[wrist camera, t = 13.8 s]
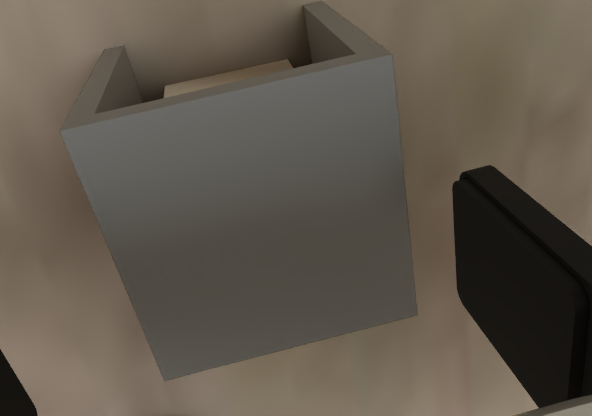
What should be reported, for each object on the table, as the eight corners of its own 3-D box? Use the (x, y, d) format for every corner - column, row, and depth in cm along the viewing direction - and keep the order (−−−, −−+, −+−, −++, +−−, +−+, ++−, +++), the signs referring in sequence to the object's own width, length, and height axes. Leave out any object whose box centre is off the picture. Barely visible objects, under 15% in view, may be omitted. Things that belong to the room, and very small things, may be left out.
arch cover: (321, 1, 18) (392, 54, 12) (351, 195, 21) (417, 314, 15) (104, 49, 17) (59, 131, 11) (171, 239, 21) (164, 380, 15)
